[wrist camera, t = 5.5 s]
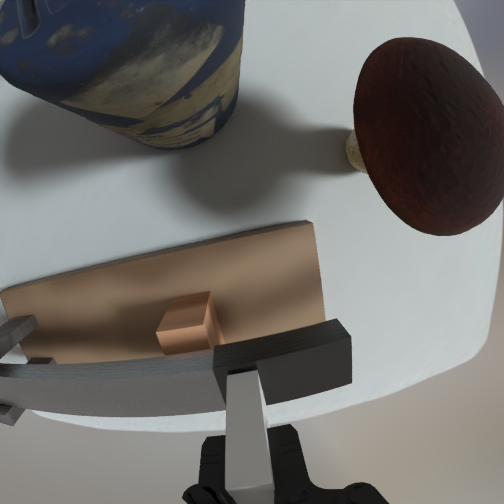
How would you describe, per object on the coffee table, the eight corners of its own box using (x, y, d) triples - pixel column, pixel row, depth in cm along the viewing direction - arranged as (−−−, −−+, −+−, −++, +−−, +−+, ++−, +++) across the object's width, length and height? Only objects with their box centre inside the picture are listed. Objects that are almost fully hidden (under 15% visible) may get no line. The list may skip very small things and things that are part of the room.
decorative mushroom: (294, 206, 22) (398, 243, 8) (303, 79, 20) (386, -31, 5) (406, 220, 23) (540, 260, 8) (412, 108, 21) (534, 72, 6)
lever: (-15, 359, 14) (-28, 370, 12) (336, 315, 15) (350, 333, 13) (4, 391, 15) (-7, 404, 13) (339, 364, 16) (352, 385, 14)
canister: (138, 169, 21) (-55, 150, 3) (117, 73, 18) (-11, -35, 1) (253, 133, 21) (314, -25, 3) (222, 37, 18) (215, -134, 1)
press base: (9, 287, 22) (-61, 330, 10) (306, 219, 22) (376, 254, 11) (49, 378, 25) (3, 439, 13) (322, 345, 25) (370, 436, 14)
